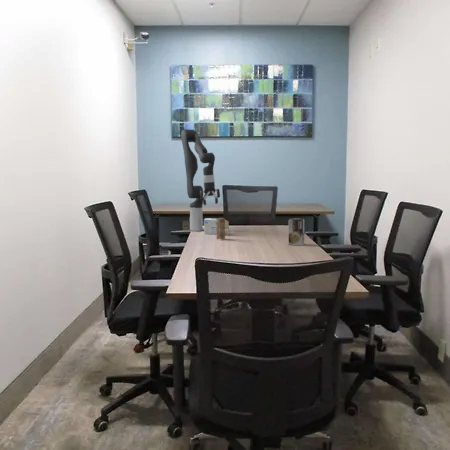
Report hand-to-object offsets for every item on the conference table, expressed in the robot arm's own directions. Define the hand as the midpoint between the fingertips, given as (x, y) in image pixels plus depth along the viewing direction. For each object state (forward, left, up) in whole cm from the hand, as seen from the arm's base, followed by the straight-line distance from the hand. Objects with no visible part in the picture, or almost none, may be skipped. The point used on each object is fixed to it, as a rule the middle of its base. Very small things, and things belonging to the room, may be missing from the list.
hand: (210, 204), depth 322 cm
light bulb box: (0, +1, -21) cm, 21 cm away
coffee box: (+67, +18, -21) cm, 73 cm away
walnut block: (+23, -8, -21) cm, 32 cm away
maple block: (+11, +4, -21) cm, 24 cm away
